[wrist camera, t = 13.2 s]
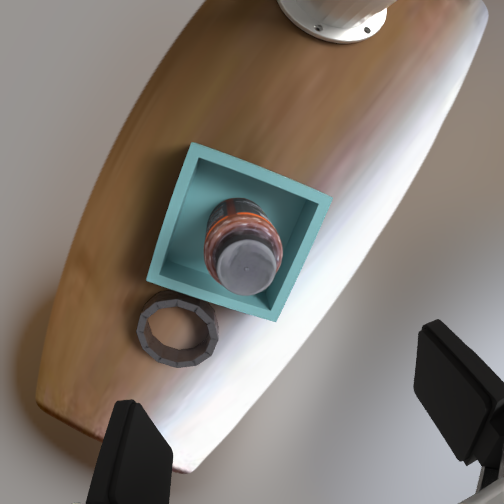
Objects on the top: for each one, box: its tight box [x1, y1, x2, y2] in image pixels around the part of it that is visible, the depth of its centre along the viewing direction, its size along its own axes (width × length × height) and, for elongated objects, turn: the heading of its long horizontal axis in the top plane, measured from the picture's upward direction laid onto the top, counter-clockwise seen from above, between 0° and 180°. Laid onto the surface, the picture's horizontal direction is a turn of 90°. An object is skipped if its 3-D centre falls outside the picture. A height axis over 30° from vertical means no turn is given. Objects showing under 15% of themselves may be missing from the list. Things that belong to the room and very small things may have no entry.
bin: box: [146, 142, 333, 322], centre depth 30 cm, size 13×13×5 cm
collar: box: [136, 290, 218, 368], centre depth 34 cm, size 9×9×2 cm
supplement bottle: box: [204, 198, 283, 296], centre depth 26 cm, size 6×6×11 cm
